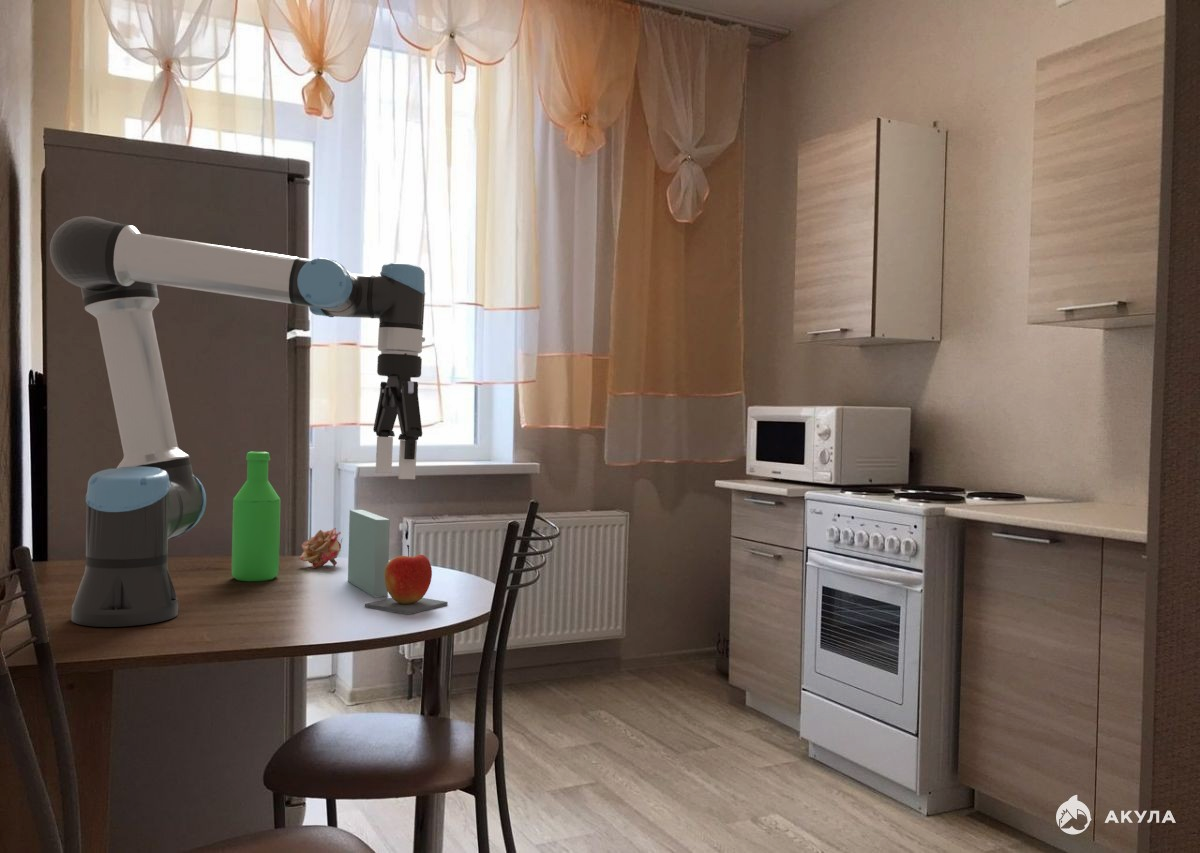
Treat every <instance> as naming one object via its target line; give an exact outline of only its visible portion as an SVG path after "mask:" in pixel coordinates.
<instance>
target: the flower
mask: <svg viewBox="0 0 1200 853" xmlns="http://www.w3.org/2000/svg"><path fill="white" fill-rule="evenodd" d="M336 529H337V528H336V527H334V528H333V529H331V530H327V531H323V530H322V529H319V530H318V531H317V533H315V535H314V536H311V537H309V539H307V540H304V541H303V542H302V543H301V548H302V550H303V551H302V553H301V555H300V557H298V558H299V559H300V560H301V561H302V562H308V563H309V564H310V565H311V567H312V568H313V569H317V568H321V567H323V566H324V565H326V564H327V563H328V562H330V563H331V564H332V565H333V566H336V565H337V563H338V562H337V561H336V560H335V559H337V558H338V556H339V554H340V552H341V550H342V549H341V548H342V542H343V538H344V537H342V538H341V540H340V542H339V540H338V536H339V535H340V534H342V532H341V531H339V532H337V531H336Z"/></svg>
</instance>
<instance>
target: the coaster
mask: <svg viewBox="0 0 1200 853" xmlns="http://www.w3.org/2000/svg"><path fill="white" fill-rule="evenodd" d="M446 606H448V601H445V600H440V599H432V598H425V597H423V598H422V599H420V600H419V601H417V602H415V603H412V604H401V603H398V602H396V601H395V600H394V599H393V598H392V597H389V598H385V599H379V600H375V601H370V602H366V603H365V602H364V608H369V609H374V610H379V611H380V610H381V611H387V612H390V613H391V612H393V613H399V614H402V615H403V614H404V615H413V614H417V613H420V612H424V611H430V610H433V609H438V608H441V607H446Z"/></svg>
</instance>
